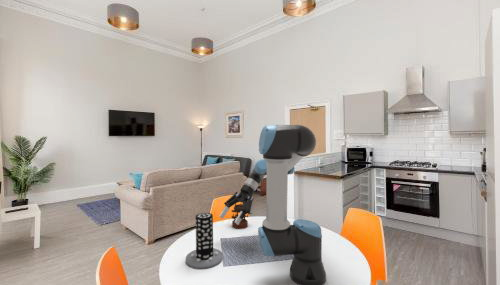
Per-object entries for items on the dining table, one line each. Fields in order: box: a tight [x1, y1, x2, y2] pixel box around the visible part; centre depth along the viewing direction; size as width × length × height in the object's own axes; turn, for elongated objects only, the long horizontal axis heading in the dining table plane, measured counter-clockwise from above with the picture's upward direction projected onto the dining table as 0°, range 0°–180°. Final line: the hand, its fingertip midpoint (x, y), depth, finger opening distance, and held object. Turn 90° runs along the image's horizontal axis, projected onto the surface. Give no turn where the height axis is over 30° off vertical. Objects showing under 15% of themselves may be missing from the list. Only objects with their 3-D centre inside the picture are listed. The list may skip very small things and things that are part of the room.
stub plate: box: [185, 247, 224, 270], centre depth 117 cm, size 18×18×3 cm
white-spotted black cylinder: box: [195, 212, 214, 260], centre depth 117 cm, size 8×8×20 cm
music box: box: [231, 198, 253, 230], centre depth 162 cm, size 15×11×20 cm
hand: (228, 220), depth 126 cm, fingers open, 13 cm apart
